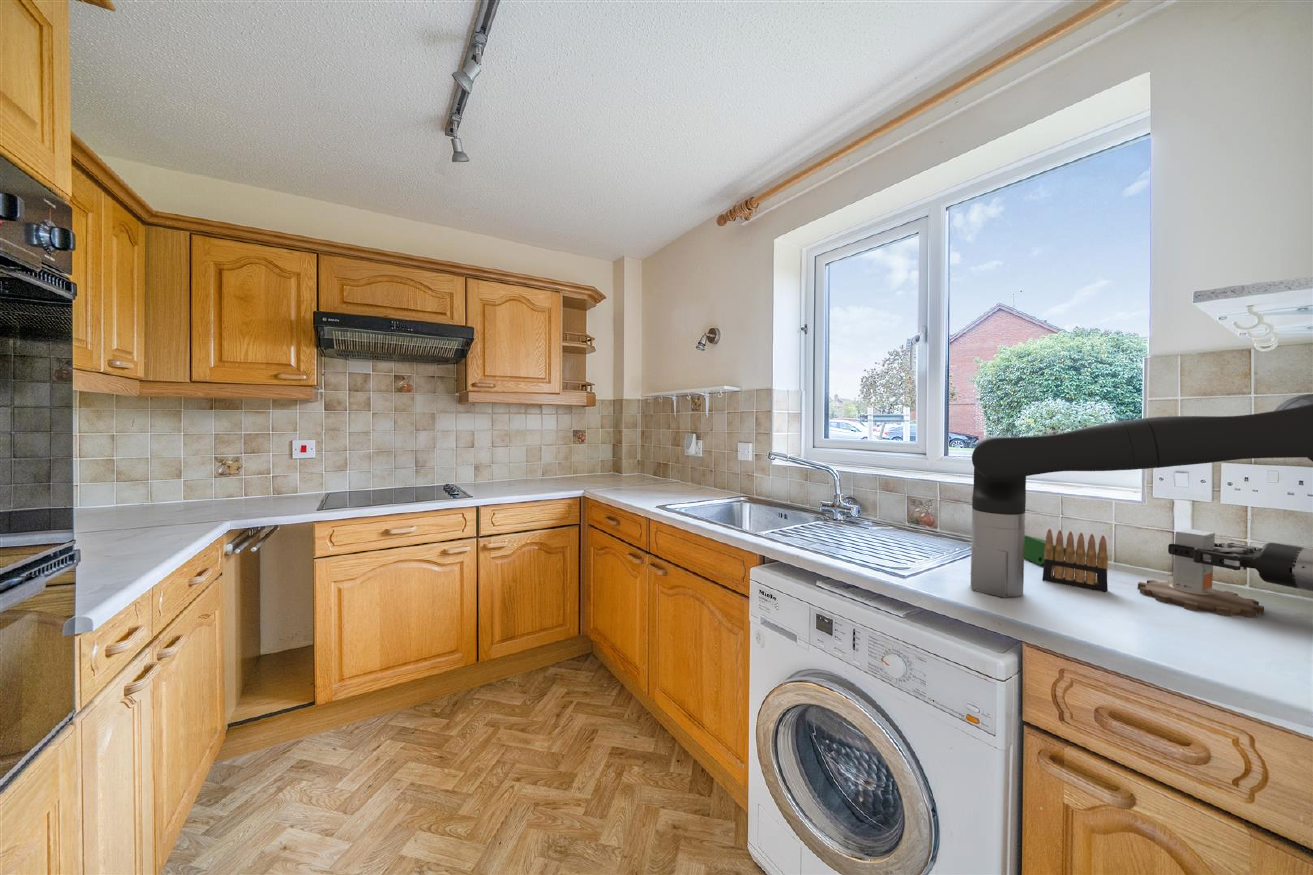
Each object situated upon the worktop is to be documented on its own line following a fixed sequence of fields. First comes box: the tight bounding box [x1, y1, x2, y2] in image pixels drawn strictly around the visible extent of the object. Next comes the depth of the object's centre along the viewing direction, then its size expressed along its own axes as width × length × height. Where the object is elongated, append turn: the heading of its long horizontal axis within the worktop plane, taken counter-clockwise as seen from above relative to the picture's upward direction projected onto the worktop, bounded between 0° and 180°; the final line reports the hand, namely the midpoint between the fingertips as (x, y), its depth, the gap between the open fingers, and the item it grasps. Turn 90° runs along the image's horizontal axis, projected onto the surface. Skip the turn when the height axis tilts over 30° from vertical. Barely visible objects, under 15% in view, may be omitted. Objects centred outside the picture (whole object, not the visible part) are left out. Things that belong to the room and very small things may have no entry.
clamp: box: [1024, 534, 1066, 567], centre depth 121 cm, size 12×6×9 cm, turn 165°
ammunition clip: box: [1042, 528, 1109, 594], centre depth 103 cm, size 11×2×12 cm, turn 45°
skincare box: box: [1172, 528, 1216, 593], centre depth 97 cm, size 6×4×12 cm
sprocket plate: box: [1137, 579, 1265, 618], centre depth 95 cm, size 17×17×1 cm
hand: (1180, 546), depth 99 cm, fingers open, 8 cm apart
